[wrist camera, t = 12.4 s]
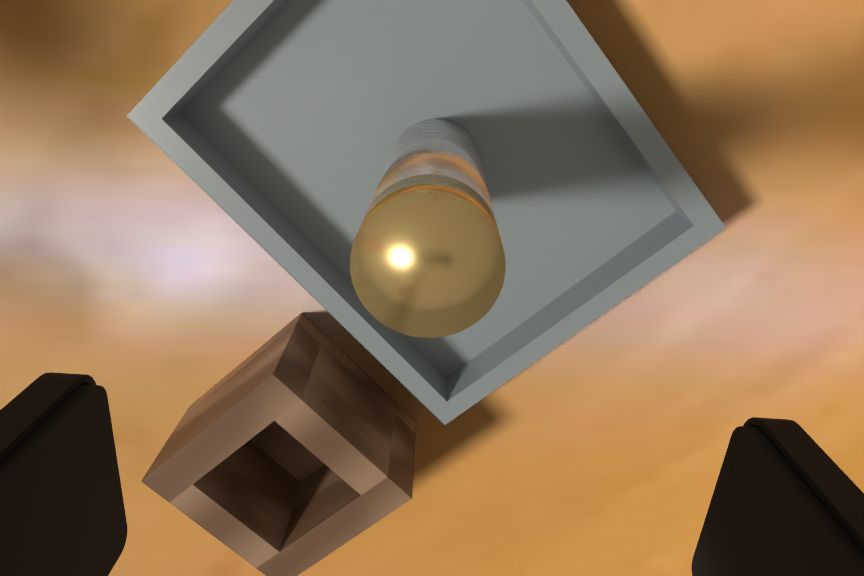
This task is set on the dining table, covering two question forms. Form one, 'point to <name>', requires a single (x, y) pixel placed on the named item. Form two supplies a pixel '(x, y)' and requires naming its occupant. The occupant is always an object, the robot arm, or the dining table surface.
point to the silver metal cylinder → (429, 236)
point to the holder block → (289, 454)
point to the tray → (377, 135)
